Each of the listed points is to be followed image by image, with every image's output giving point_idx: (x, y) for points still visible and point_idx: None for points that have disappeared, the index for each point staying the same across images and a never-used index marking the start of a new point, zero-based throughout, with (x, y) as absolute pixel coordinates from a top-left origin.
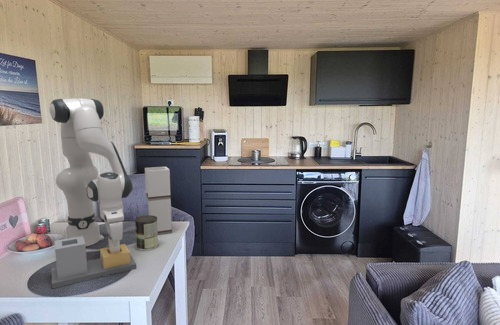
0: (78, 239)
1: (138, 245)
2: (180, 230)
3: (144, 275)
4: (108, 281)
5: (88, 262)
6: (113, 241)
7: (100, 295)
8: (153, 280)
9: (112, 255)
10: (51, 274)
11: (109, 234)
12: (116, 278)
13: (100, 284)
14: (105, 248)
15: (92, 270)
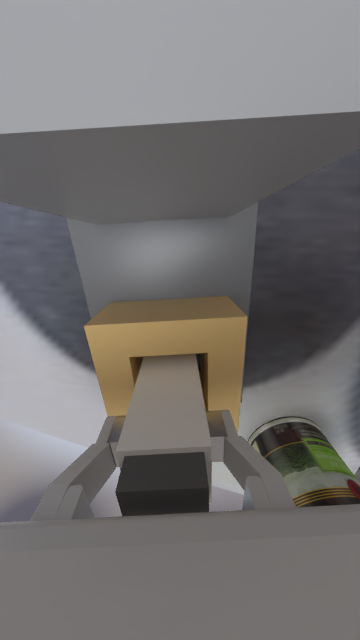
0: None
1: (282, 435)
2: None
3: (57, 407)
4: (43, 304)
5: (230, 236)
6: (74, 465)
7: None
8: (15, 421)
9: (96, 371)
10: None
11: (82, 538)
12: (61, 332)
13: (24, 274)
14: (230, 347)
15: (117, 250)
